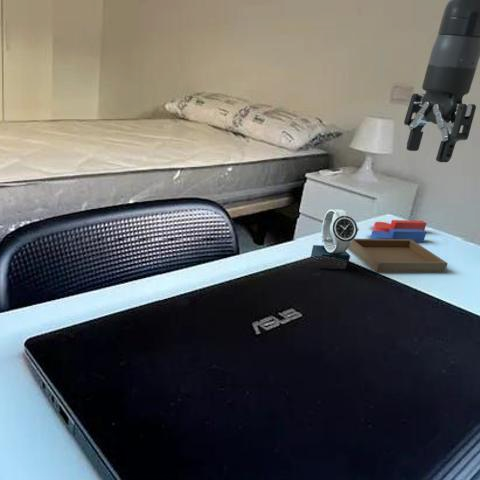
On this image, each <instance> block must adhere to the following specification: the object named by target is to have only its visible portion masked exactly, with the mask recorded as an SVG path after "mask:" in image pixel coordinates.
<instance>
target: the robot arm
mask: <svg viewBox="0 0 480 480" xmlns="http://www.w3.org/2000/svg"><path fill="white" fill-rule="evenodd" d="M479 61H480V0H449V1H448V2H447V3H446V5H445V7H444V9H443V12H442V16H441V19H440V24H439V27H438V31H437V35H436V38H435V40H434V43H433V45H432V48H431V52H430V55H429V59H428V63H427V66H426V70H425V73H424V78H423V82H422V85H421V88H422V90H423V91H425V93H412V95H411V97H410V100H409V103H408V107H407V111H406V114H405V118H404V120H403V124H404V125H405V126H407V127H408V129H409V135H408V138H407V142H406V150H407V151H410V152H417V151H419V149H420V147H421V142H422V140H423V139H422V138H423V136H424V129H425V128H426V127H428V126H429V124H434V125H436V126H437V129H439V131H440V133H441V138H442V140H440V144H439V147H438V150H437V153H436V157H435V161H436V162H438V163H449V162H450V160H451V159H452V156H453V153H454V149H455V146H456V144H457V142H459V141H460V142H461V141H466V140H467V141H468V138H469V136H470V132H471V128H472V125H473V120H474V117H475V113H476V109H477V105H476V104H475V103H463V98H464V96H466V95H468V94H469V93H470V91H471V89H472V88H471V87H472V84H473V81H474V79H475V75H476V71H477V68H478V64H479ZM413 115H414V117H413ZM412 117H413V118H412ZM461 128H462V130H461Z"/></svg>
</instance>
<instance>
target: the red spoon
mask: <svg viewBox="0 0 480 480" xmlns="http://www.w3.org/2000/svg"><path fill="white" fill-rule="evenodd" d="M427 224H428V223H427V222H426V221H424V220H412V219H411V220H409V219H408V220H405V219H392V220H391V221H390V223H389V222H386V221H375V222H374V225H373V228H372V231H384V232H387V233H389V231H390V229H422V230H424V231H425V230H426V227H427Z"/></svg>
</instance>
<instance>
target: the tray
mask: <svg viewBox="0 0 480 480" xmlns="http://www.w3.org/2000/svg"><path fill="white" fill-rule="evenodd" d="M347 250H349V251H350V252H351V253H353V254H354V255H355V256H356V257H357V258H358V259H359V260H361V261H362V262H363V263H364V264H366V265H367V266H368V267H369V268H371V270H373V271H374V272H375V273H446V270H447V266H448V262H446V261H445V260H443V259H442V258H440V257H439V256H438V255H436V254H435V253H433V252H432V251H430V250H428V249H427V248H425V247H424V246H422V245H420V244H419V243H418V242H414V241H413V240H411V239H370V238H354V239H353V242H352V244H351V245H349V247H348V248H347Z"/></svg>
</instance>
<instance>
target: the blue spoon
mask: <svg viewBox="0 0 480 480" xmlns="http://www.w3.org/2000/svg"><path fill="white" fill-rule="evenodd" d="M426 235H427V231H425V230H422V229H390V231H389V233H387V232H384V231H374V230H372V231H371V235H370V237H369V239H411V240H413V241H414V242H416V243H424V241H425V238H426Z"/></svg>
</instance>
